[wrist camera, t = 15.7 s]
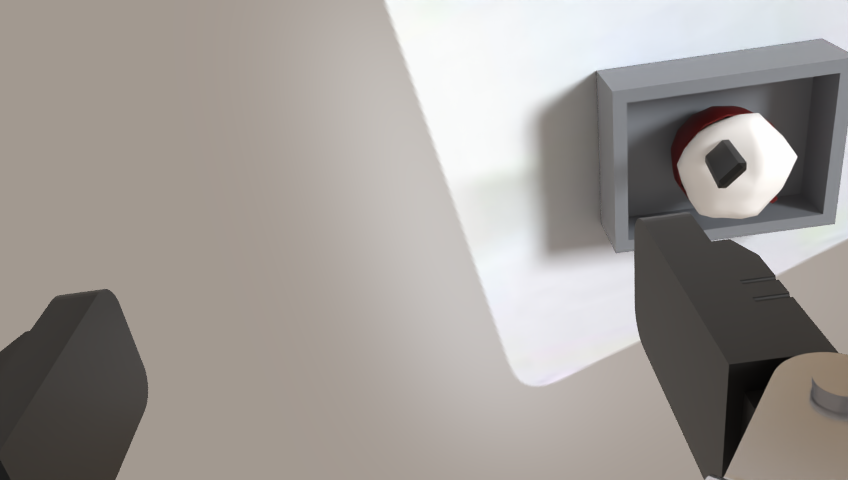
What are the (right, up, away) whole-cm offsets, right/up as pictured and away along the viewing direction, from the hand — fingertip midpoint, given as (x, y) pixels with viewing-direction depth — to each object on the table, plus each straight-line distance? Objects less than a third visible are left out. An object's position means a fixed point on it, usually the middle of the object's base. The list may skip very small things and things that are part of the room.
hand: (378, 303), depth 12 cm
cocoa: (+18, +7, +37) cm, 42 cm away
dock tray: (+19, +8, +38) cm, 43 cm away
